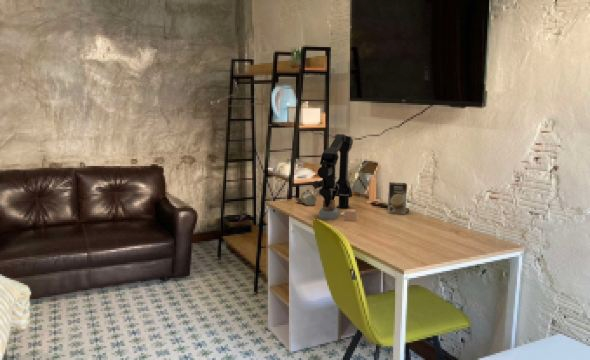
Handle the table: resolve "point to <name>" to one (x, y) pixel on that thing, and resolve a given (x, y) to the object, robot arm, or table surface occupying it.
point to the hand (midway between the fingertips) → (329, 205)
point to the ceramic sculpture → (307, 198)
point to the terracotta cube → (350, 215)
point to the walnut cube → (330, 207)
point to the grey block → (329, 214)
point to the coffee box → (397, 198)
